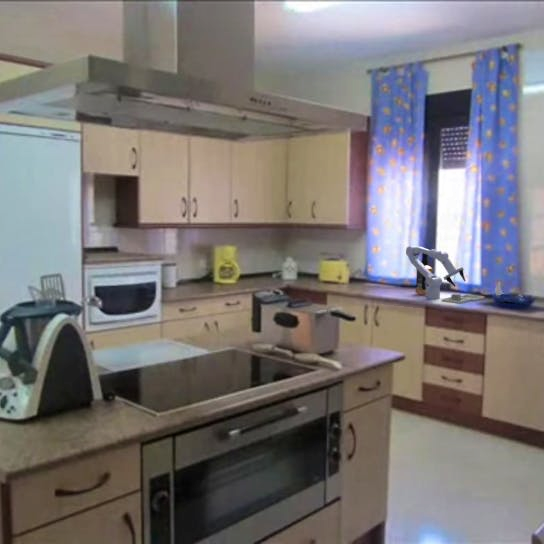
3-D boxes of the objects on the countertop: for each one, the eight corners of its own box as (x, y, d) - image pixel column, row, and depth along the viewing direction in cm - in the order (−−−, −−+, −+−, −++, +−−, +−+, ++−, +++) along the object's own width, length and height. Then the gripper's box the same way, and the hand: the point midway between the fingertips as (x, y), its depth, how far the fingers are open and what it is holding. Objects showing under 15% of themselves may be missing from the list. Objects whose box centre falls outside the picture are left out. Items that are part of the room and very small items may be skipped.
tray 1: (441, 302, 413) (441, 299, 413) (451, 300, 423) (451, 296, 423) (460, 304, 403) (460, 301, 403) (470, 302, 413) (470, 298, 413)
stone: (451, 301, 413) (451, 294, 412) (454, 300, 416) (454, 293, 416) (457, 301, 410) (457, 295, 409) (460, 301, 413) (460, 294, 412)
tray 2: (456, 300, 421) (456, 296, 421) (465, 298, 431) (465, 294, 430) (474, 302, 411) (474, 299, 411) (484, 300, 421) (484, 296, 421)
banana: (521, 304, 402) (522, 282, 400) (493, 301, 414) (494, 280, 412) (524, 303, 405) (525, 281, 404) (496, 300, 417) (496, 279, 416)
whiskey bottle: (433, 294, 448) (434, 251, 445) (422, 295, 445) (423, 252, 441) (425, 292, 458) (426, 250, 454) (414, 293, 454) (415, 251, 451)
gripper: (440, 270, 413) (450, 287, 407) (459, 260, 411) (469, 276, 406) (440, 273, 419) (450, 289, 414) (458, 263, 418) (469, 279, 413)
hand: (460, 283), depth 410 cm, fingers open, 7 cm apart
